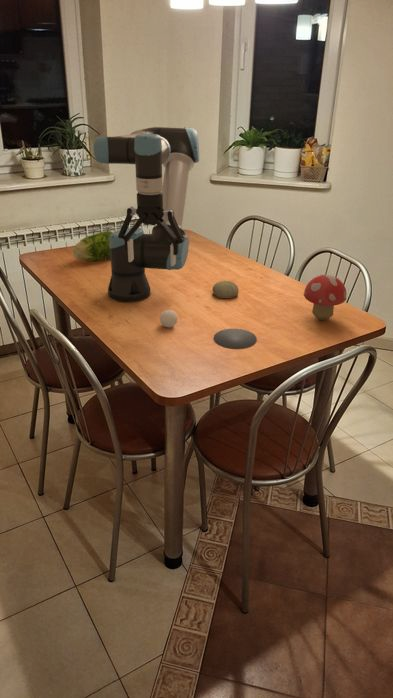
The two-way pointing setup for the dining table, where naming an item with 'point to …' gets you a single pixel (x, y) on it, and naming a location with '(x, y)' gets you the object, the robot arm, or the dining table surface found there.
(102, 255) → the lettuce
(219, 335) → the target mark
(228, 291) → the sea urchin shell
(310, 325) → the dining table surface
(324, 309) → the decorative mushroom
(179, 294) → the dining table surface
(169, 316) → the ball
